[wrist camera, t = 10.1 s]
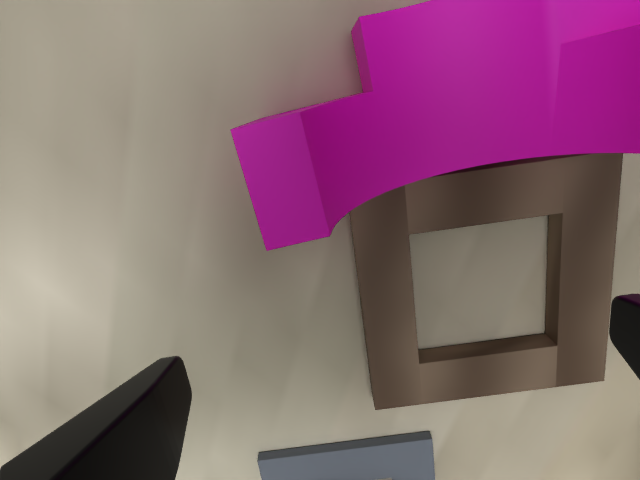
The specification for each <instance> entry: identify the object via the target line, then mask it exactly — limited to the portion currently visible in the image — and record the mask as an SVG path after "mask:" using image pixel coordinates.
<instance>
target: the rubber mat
mask: <svg viewBox="0 0 640 480" xmlns="http://www.w3.org/2000/svg"><path fill="white" fill-rule="evenodd" d="M257 461H258V465H259V469H260V474H261V478H262V480H378V479H386V478H392V480H435V471H434V457H433V444H432V437H431V434H430V431H426V432H418V433H410V434H403V435H395V436H387V437H379V438H371V439H363V440H355V441H347V442H339V443H331V444H323V445H315V446H307V447H299V448H291V449H283V450H275V451H267V452H260V453H259V454H258V460H257Z"/></svg>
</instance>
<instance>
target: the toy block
mask: <svg viewBox="0 0 640 480" xmlns="http://www.w3.org/2000/svg"><path fill="white" fill-rule="evenodd" d="M351 33H352V38H353V43H354V48H355V53H356V58H357V63H358V69H359V74H360V79H361V84H362V89H363V93H359V94H355V95H351V96H347V97H343V98H339V99H335V100H331V101H327V102H323V103H319V104H315V105H312V106H308V107H304V108H300V109H296V110H292V111H288V112H284V113H280V114H276V115H272V116H268V117H264V118H260V119H258V120H255V121H252V122H250V123H247V124H244V125H242V126H239V127H236V128H234V129H231V133H232V137H233V140H234V144H235V147H236V150H237V154H238V157H239V160H240V164H241V167H242V170H243V174H244V177H245V180H246V184H247V187H248V190H249V194H250V197H251V200H252V204H253V207H254V210H255V214H256V217H257V220H258V224H259V227H260V230H261V234H262V237H263V240H264V244H265V247H266V250H267V251H268V250H272V249H277V248H281V247H285V246H290V245H294V244H298V243H302V242H307V241H311V240H315V239H320V238H324V237H328V236H330V235H331V232H332V230H333V228H334V227H335V225H336V224H337V223H338V221H339V220H340V219H341V218H342V217H344V216H345V215H346V214H347V213H348V212H350V211H351V210H353V209H354V208H356V207H357V206H359V205H361V204H362V203H364V202H366V201H368V200H370V199H372V198H374V197H376V196H378V195H380V194H383V193H385V192H387V191H390V190H392V189H395V188H398V187H400V186H403V185H406V184H409V183H412V182H415V181H418V180H422V179H425V178H429V177H432V176H436V175H440V174H443V173H448V172H452V171H456V170H461V169H465V168H470V167H475V166H480V165H486V164H491V163H497V162H504V161H511V160H518V159H526V158H534V157H544V156H555V155H568V154H588V153H639V154H640V0H431V1H427V2H424V3H420V4H416V5H412V6H408V7H404V8H400V9H395V10H391V11H386V12H381V13H377V14H371V15H366V16H361V17H359V18H358V20H357V22H356V23H355V25H354V27H353V29H352V31H351Z"/></svg>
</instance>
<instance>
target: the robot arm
mask: <svg viewBox="0 0 640 480" xmlns="http://www.w3.org/2000/svg"><path fill="white" fill-rule="evenodd" d="M609 334H610V338H611V341H612V343H613V345H614V346H615V347H616V349H617V350H618V351H619V353H620V354H621V355H622V357H623V358H624V359H625V361H626V362H627V363H628V365H629V366H630V367H631V369H632V370H633V371H634V373H635V374H636V375H637V377H638V378H639V380H640V294H628V295H621V296H617V297H615V298H614V299H613V301H612V305H611V316H610V329H609ZM191 400H192V391H191V386H190V383H189V379H188V376H187V372H186V369H185V366H184V362H183V360H182V359H181V358H180V357H179V356H173V357H166V358H161V359H159V360H157V361H156V362H154V363H153V364H151V365H150V366H148V367H147V368H145V369H144V370H143V371H141V372H140V373H138V374H137V375H135V376H134V377H132V378H131V379H129V380H128V381H126V382H125V383H123V384H122V385H120V386H119V387H118V388H116V389H115V390H113V391H112V392H110V393H109V394H107V395H106V396H104V397H103V398H101V399H100V400H98V401H97V402H95V403H94V404H93V405H91V406H90V407H88V408H87V409H85V410H84V411H82V412H81V413H79V414H78V415H76V416H75V417H73V418H72V419H70V420H69V421H68V422H66V423H65V424H63V425H62V426H60V427H59V428H57V429H56V430H54V431H53V432H51V433H50V434H48V435H47V436H45V437H44V438H43V439H41V440H40V441H38V442H37V443H35V444H34V445H32V446H31V447H29V448H28V449H26V450H25V451H23V452H22V453H20V454H19V455H18V456H16V457H15V458H13V459H12V460H10V461H9V462H7V463H6V464H4V465H3V466H2V467H1V469H0V480H175V477H176V474H177V470H178V466H179V462H180V457H181V452H182V447H183V442H184V436H185V431H186V426H187V421H188V416H189V410H190V405H191Z"/></svg>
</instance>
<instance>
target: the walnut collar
mask: <svg viewBox="0 0 640 480" xmlns="http://www.w3.org/2000/svg"><path fill="white" fill-rule="evenodd" d="M622 159H623V153H588V154H568V155H555V156H544V157H534V158H526V159H518V160H511V161H504V162H497V163H491V164H486V165H480V166H475V167H470V168H465V169H461V170H456V171H452V172H448V173H443V174H440V175H436V176H432V177H429V178H425V179H422V180H418V181H415V182H412V183H409V184H406V185H403V186H400V187H398V188H395V189H392V190H390V191H387V192H385V193H383V194H380V195H378V196H376V197H374V198H372V199H370V200H368V201H366V202H364V203H362V204H361V205H359V206H357V207H356V208H354V209H353V210H351V211H350V220H351V228H352V236H353V244H354V252H355V260H356V268H357V276H358V284H359V292H360V300H361V308H362V316H363V324H364V332H365V340H366V348H367V356H368V364H369V372H370V380H371V388H372V395H373V401H374V406H375V410H379V409H387V408H395V407H403V406H411V405H419V404H426V403H434V402H442V401H450V400H458V399H465V398H473V397H481V396H489V395H497V394H505V393H512V392H520V391H528V390H536V389H544V388H551V387H559V386H567V385H575V384H583V383H591V382H598V381H604V375H605V363H606V351H607V339H608V327H609V315H610V303H611V291H612V279H613V267H614V255H615V243H616V231H617V219H618V207H619V195H620V183H621V171H622ZM545 215H549V217H548V252H547V286H546V320H545V333H544V334H537V335H529V336H522V337H514V338H506V339H499V340H491V341H484V342H476V343H468V344H461V345H453V346H446V347H438V348H431V349H423V350H418V343H417V331H416V318H415V306H414V293H413V281H412V269H411V256H410V244H409V234H416V233H424V232H431V231H438V230H445V229H452V228H459V227H466V226H473V225H481V224H488V223H495V222H502V221H509V220H516V219H523V218H530V217H538V216H545Z"/></svg>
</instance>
